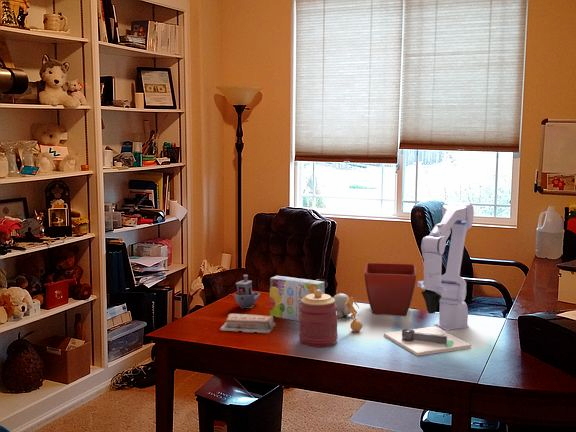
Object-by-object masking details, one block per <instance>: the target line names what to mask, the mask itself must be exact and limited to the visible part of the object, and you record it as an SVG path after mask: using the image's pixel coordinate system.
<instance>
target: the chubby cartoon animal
mask: <svg viewBox="0 0 576 432" xmlns="http://www.w3.org/2000/svg"><path fill="white" fill-rule="evenodd" d="M332 298H334V299H335V302H334V304H336V305H337V306H338V309H337V310H336V315H337V316H338V318H342V317H344V316H348V315H351V314H352V313H351V312H350V311H349V306H348V305H346V308H347V311H348V313H346V309H345V303H346V299H347V298H350V297H349V295H348V294H345V293H341V292H340V293H337V294H335V295H334V296H332Z"/></svg>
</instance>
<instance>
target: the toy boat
mask: <svg viewBox="0 0 576 432" xmlns="http://www.w3.org/2000/svg"><path fill="white" fill-rule="evenodd" d="M248 278H249V275H248V274H243V279H242V280H240V281H237V282H235V286H236V291H237V293H233V297H234V300H235V302H236V303H237V305H239V306H240V308H241V307H242V308H241V309H243V308H251V307H253V306H254V304H255V303H256V302H257V301H258V299H259V297H260V295H261V292H255V291H253V287H252V285H253V284H252V283H253V280H249V279H248ZM254 307H255V306H254ZM254 307H253V308H254ZM251 309H252V308H251Z"/></svg>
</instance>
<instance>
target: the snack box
mask: <svg viewBox="0 0 576 432" xmlns="http://www.w3.org/2000/svg"><path fill="white" fill-rule="evenodd" d="M325 285H326V284H325V281H321V280H313V279H306V278H297V277H291V276H284V275H282V276H281V275H275V276H272V277H270V278H269V316H275V317H274V318H279V319H283V320H284V319H285V320H291V321H297V322H299V315H300V310H299V308H298V307H299V305H300V304H302V302H301V299H302V298H304V297H305V296H306V295H308V294H314V292H315V290H318V289H319V290H321V291H322V294H326V293H325V292H326V291H325Z"/></svg>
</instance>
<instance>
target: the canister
mask: <svg viewBox="0 0 576 432" xmlns="http://www.w3.org/2000/svg"><path fill="white" fill-rule="evenodd" d="M301 302H302V304H300V305H299V307H298V308H299V310H300V315H299V321H298V341H299V343H300V344H302V345H303V346H306V347H312V348H325V347H331V346H333V345H335V344H336V343H337V342H338V338H339V337H338V335H339V334H338V319H339V317H338V316H337V311H336V310H337V309H338V306H337V305H336V304H334V302H335V299H334V298H333V296H331V295H330V294H327V293H325V294H322V291H321V290H319V289H318V290H315V292H314V294H308V295H306V296H305V297H304V298H302V299H301Z"/></svg>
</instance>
